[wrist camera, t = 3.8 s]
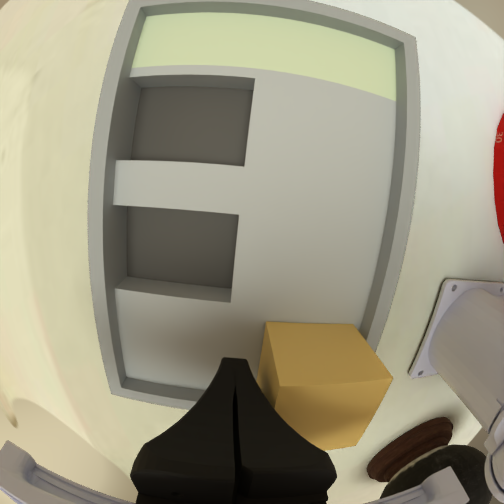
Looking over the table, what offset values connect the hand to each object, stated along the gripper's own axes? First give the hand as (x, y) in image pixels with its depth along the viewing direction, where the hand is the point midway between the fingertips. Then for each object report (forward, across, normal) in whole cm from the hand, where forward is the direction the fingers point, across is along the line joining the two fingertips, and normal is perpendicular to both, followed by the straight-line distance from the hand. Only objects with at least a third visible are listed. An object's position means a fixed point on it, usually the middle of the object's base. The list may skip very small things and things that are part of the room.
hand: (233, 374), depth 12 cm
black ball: (+4, -21, +16) cm, 27 cm away
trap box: (+3, 0, -7) cm, 8 cm away
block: (+1, -4, 0) cm, 4 cm away
